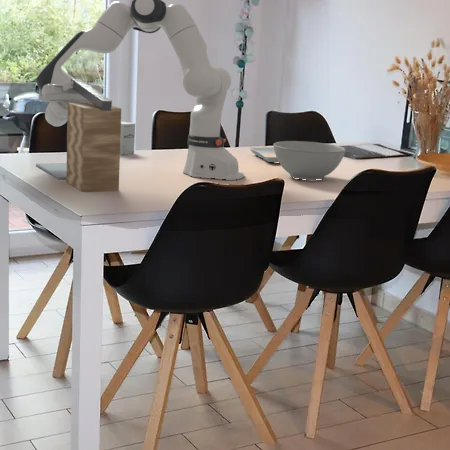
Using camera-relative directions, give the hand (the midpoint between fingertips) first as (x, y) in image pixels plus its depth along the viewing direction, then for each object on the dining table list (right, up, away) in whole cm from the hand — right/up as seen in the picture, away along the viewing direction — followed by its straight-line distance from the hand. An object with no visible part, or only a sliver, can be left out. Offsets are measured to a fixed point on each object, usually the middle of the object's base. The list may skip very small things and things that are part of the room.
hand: (78, 83), depth 261 cm
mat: (-7, -28, +17) cm, 33 cm away
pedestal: (+5, -34, -5) cm, 35 cm away
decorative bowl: (+79, -30, +36) cm, 92 cm away
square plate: (+75, -20, +77) cm, 109 cm away
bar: (+5, -6, -8) cm, 12 cm away
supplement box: (+6, -17, +66) cm, 68 cm away
